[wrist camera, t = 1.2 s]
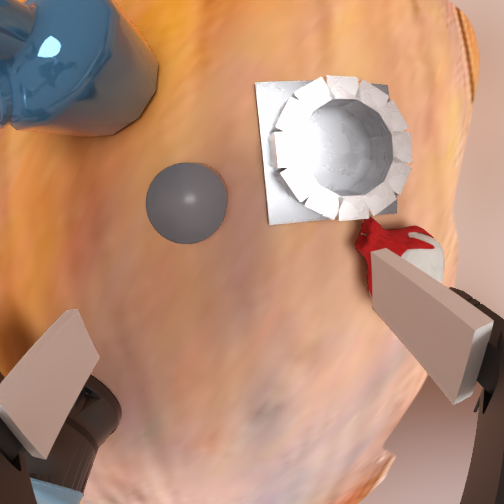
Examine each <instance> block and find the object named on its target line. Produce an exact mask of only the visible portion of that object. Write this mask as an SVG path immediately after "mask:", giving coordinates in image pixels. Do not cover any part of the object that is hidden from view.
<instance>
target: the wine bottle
mask: <svg viewBox="0 0 504 504" xmlns="http://www.w3.org/2000/svg"><path fill="white" fill-rule="evenodd" d="M157 72H158V62H157V60H156V58H155V56H154V54H153V53H152V51H151V49H150V47H149V45H148V43H147V42H146V41H145V39H144V38H143V37H142V35H141V34H140V33H139V31H138V30H137V29H136V27H135V26H134V25H133V23H132V22H131V21H130V20H129V18H128V17H127V16H126V14H125V13H124V12H123V11H122V9H121V8H120V7H119V5H118V4H117V3H116V2H115V0H26V1H25V2H24V3H21V2H19V1H17V0H0V128H5V127H6V126H8V125H9V124H10V125H11V126H12V127H14V128H15V129H16V130H20V131H32V132H44V133H55V134H64V135H73V136H82V137H94V136H104V135H113V134H115V133H116V132H118V131H119V130H121V129H122V128H124V127H125V126H127V125H128V124H130V123H131V122H133V121H134V120H136V119H138V118H139V116H140V115H141V113H142V111H143V110H144V108H145V107H146V105H147V104H148V102H149V100H150V99H151V97H152V96H153V94H154V93H155V91H156V81H157Z"/></svg>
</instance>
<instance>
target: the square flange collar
mask: <svg viewBox="0 0 504 504" xmlns="http://www.w3.org/2000/svg"><path fill="white" fill-rule="evenodd" d="M255 92H256V101H257V110H258V120H259V129H260V139H261V148H262V158H263V168H264V179H265V189H266V200H267V210H268V222H269V225H276V224H286V223H295V222H305V221H316V220H326V219H333V220H334V219H336V220H338V221H347V220H358V219H369V216H370V215H371V216H373V217H374V216H375V215H382V214H394V213H397V195H400V194H401V192H402V189H403V187H404V185H405V182H406V180H407V178H408V175H409V173H410V170H411V167H410V166H408V165H407V164H405V163H412V149H411V136H410V132H402V131H404V130H405V129H407V128H408V125H407V123H406V122H405V120H404V118H403V116H402V115H401V113H400V111H399V110H398V108H397V106H396V104H395V103H394V101H393V100H391V101H390V99H389V92H388V85H381V84H370V83H368V82H367V81H365V80H363V79H361V80H360V81H358V77H346V76H325V77H324V78H322V77H320V78H318V79H316V80H315V81H275V82H257V83H255Z"/></svg>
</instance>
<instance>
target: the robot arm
mask: <svg viewBox="0 0 504 504" xmlns="http://www.w3.org/2000/svg"><path fill="white" fill-rule="evenodd" d="M371 265H372V296H373V310H374V311H375V312H376V313H377V314H378V315H379V317H380V318H381V319H382V320H383V321H384V322H385V323H386V325H387V326H388V327H389V328H390V329H391V330H392V331H393V333H394V334H395V335H396V336H397V337H398V338H399V340H400V341H401V342H402V343H403V344H404V345H405V347H406V348H407V349H408V350H409V351H410V352H411V354H412V355H413V356H414V357H415V358H416V360H417V361H418V362H419V363H420V364H421V366H422V367H423V368H424V369H425V370H426V372H427V373H428V374H429V375H430V377H431V378H432V379H433V380H434V381H435V382H436V384H437V385H438V386H439V388H440V389H441V390H442V391H443V392H444V394H445V395H446V396H447V398H448V399H449V400H450V402H451V403H452V404H453V405H455V404H457V403H459V402H461V401H462V400H464V399H466V398H468V397H470V396H471V395H472V393H473V390H474V388H475V385H476V382H477V381H478V382H479V383H480V385H481V386H482V387H483V389H482V391H481V394H480V397H479V399H478V401H477V404H476V406H475V409H474V412H477V410H478V407H479V413H478V422H477V429H476V436H475V442H474V448H473V453H472V458H471V463H470V468H469V472H468V476H467V481H466V484H465V488H464V492H463V496H462V499H461V502H460V504H504V319H503V318H501V317H500V316H498V315H497V314H496V313H494V312H492V311H491V310H490V309H488V308H487V307H486V306H484V305H483V304H480V302H479V301H477V300H476V299H473V298H472V297H471V296H470V295H468V294H467V293H465V292H464V291H461V290H458V289H455V288H452V287H450V288H447V287H446V286H444V285H443V284H441V283H440V282H438V281H437V280H435V279H434V278H432V277H431V276H429V275H428V274H426V273H425V272H423V271H422V270H420V269H419V268H417V267H416V266H414V265H413V264H411V263H409V262H408V261H406V260H405V259H403V258H401V257H400V256H398V255H397V254H395V253H393V252H392V251H390V250H389V249H387V248H385V249H380V250H376V251H371ZM99 359H100V356H99V354H98V352H97V350H96V348H95V346H94V344H93V342H92V340H91V338H90V336H89V333H88V331H87V329H86V327H85V324H84V322H83V320H82V317H81V315H80V313H79V310H78V308H77V309H71V310H65V312H64V313H63V314H62V315H61V316H60V317H59V318H58V319H57V320H56V321H55V322H54V323H53V324H52V325H51V326H50V327H49V328H48V329H47V330H46V331H45V333H44V334H43V335H42V336H41V337H40V338H39V339H38V340H37V341H36V342H35V344H34V345H33V346H32V347H31V348H30V349H29V350H28V351H27V353H26V354H25V355H24V356H23V357H22V358H21V359H20V361H19V362H18V363H17V364H16V365H15V366H14V368H13V369H12V370H11V371H10V372H9V374H8V375H7V376H6V377H4V376H3V375H2V374H1V372H0V504H79V503H80V501H81V499H82V497H83V496H84V494H83V493H84V489H85V486H86V483H87V480H88V477H89V474H90V471H91V468H92V465H93V462H94V459H95V456H96V454H97V451H98V448H99V447H100V446H101V444H102V443H103V442H104V441H105V440H106V439H107V438H108V436H109V435H111V434H112V433H113V432H114V431H115V430H116V429H117V427H118V424H119V422H120V419H121V408H120V405H119V403H118V401H117V400H116V398H115V397H114V395H113V394H112V393H111V392H110V391H109V390H108V388H106V387H105V386H104V385H103V384H102V383H101V382H100V381H98V380H97V379H95V378H94V377H92V376H91V375H90V374H91V372H92V371H93V369H94V367H95V365H96V364H97V362H98V360H99Z"/></svg>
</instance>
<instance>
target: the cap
mask: <svg viewBox="0 0 504 504" xmlns="http://www.w3.org/2000/svg"><path fill="white" fill-rule="evenodd" d="M227 200H228V193H227V188H226V184H225V182H224V180H223V179H222V177H221V176H220V174H219V173H218V172H217V171H215V170H214V169H213V168H211V167H209V166H207V165H204V164H200V163H179V164H174V165H172V166H169V167H167V168H166V169H164V170H163V171H161V172H160V173H159V174H158V175H157V176H156V177H155V178H154V180H153V181H152V183H151V184H150V187H149V189H148V192H147V197H146V210H147V215H148V218H149V220H150V222H151V224H152V226H153V227H154V229H155V230H156V231H157V232H158V233H159V234H160V235H162V236H163V237H164V238H166V239H168V240H170V241H172V242H175V243H180V244H193V243H197V242H200V241H203V240H205V239H207V238H208V237H210V236H211V235H212V234H213V233H214V232H215V231H216V230H217V229H218V228H219V226H220V225H221V223H222V221H223V219H224V216H225V212H226V207H227Z"/></svg>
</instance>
